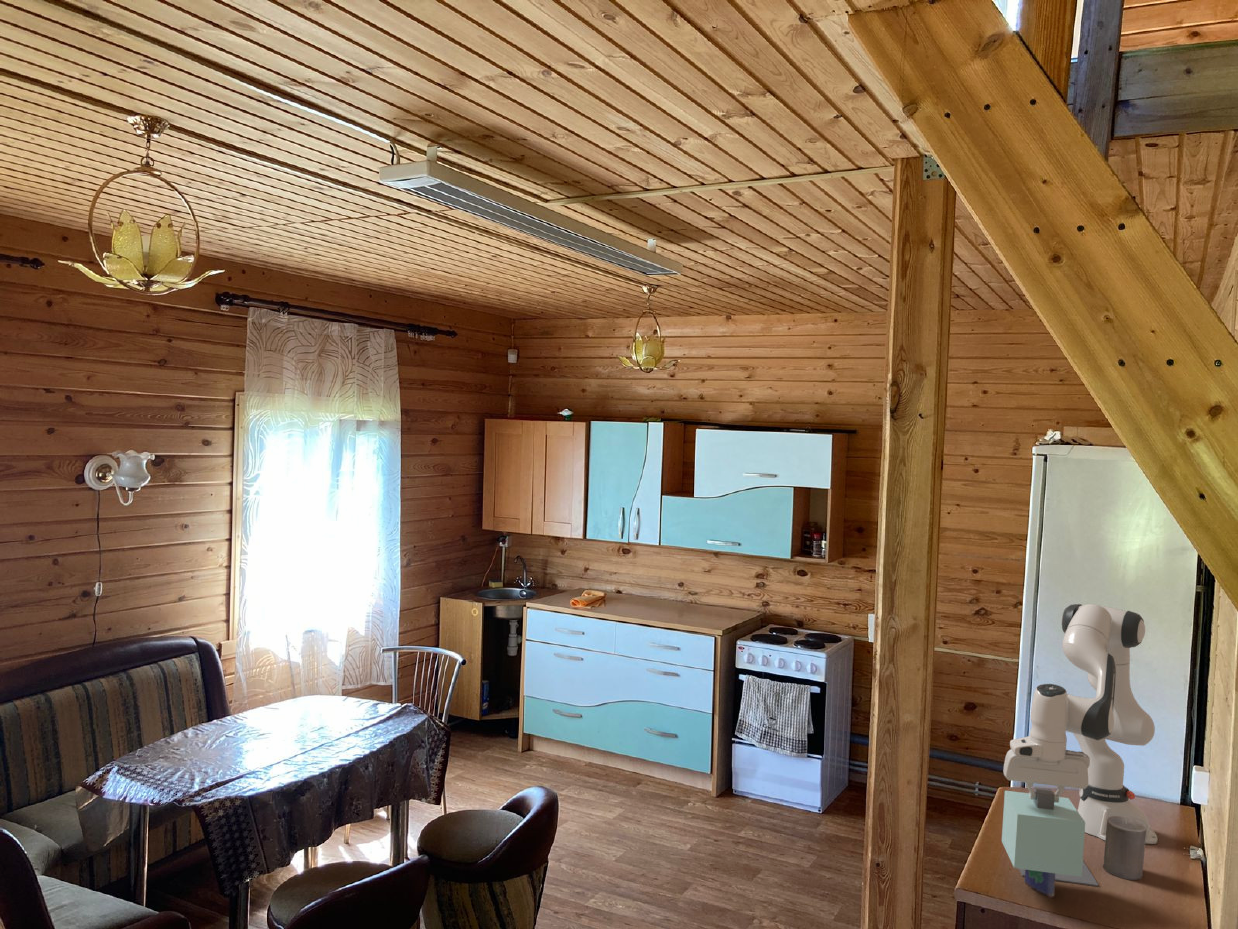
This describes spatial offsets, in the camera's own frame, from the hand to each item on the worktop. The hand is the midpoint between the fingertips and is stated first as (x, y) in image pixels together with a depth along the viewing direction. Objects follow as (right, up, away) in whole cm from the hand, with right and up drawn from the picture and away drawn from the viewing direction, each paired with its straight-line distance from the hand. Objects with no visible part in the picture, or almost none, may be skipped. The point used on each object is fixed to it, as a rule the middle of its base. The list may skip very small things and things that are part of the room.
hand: (1043, 800), depth 242 cm
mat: (+9, -24, +15) cm, 29 cm away
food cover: (-1, -15, +1) cm, 15 cm away
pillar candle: (+28, -25, +13) cm, 40 cm away
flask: (-1, -24, +1) cm, 24 cm away
